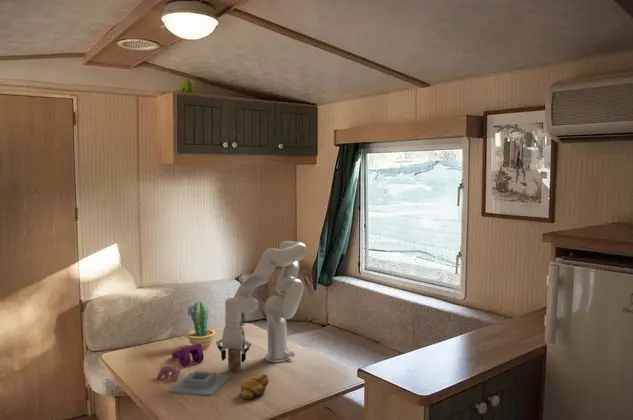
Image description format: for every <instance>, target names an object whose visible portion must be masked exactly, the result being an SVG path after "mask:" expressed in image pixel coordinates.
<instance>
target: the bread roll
mask: <svg viewBox="0 0 633 420" xmlns="http://www.w3.org/2000/svg"><path fill="white" fill-rule="evenodd" d="M269 381H270V379H269V377H268V375H267V374H261V375H257V376H252V377H248V378H247V379H246V380H244V381H242V382H241V385H240V392H241V397H242V398H243V399H244V400H251V399H253V398H255V397H258V396H259V397H260V396H262V395H263V394H264V393H265V392H266V388H267V386H268V384H269Z"/></svg>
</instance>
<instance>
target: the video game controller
mask: <svg viewBox="0 0 633 420" xmlns="http://www.w3.org/2000/svg"><path fill="white" fill-rule="evenodd" d="M170 373H171V374H170ZM180 373H181V369H180V367H177V366H175V365H169V364H168V365H162V368H160V370H159V371H158V373H157V376H156V379H157V381H159V380H161V378H162V377H163V378H165V379H171V380H172V382H173V383H175V382H176V381H177V380H178V379H179V376H180Z"/></svg>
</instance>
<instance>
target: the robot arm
mask: <svg viewBox="0 0 633 420" xmlns="http://www.w3.org/2000/svg"><path fill="white" fill-rule="evenodd" d="M307 252H308V248H307V246H306V244H304V243H303V242H299V241H294V240H284V241H282V242H281V243H280V244H279V247H278V248H276V247H269V248H267V249H265V250H264V251H263V254H262V256H261V258H260V259H259V262H258V263H257V265H256V266H255V269H254V271H253V273H252V274H251V275H249V276H248V277H247V278H246V279H244V280H243V282H242V283H241V284H240V286H238V289H237V290H236V292H235V294H234V296H233V297H229V298H226V300H225V302H224V304H225V308H224V311H225V312H224V313H225V315H224V317H225V318H224V320H225V325H224V327H223V332H222V338H221V339H219V340H217V341H216V342H215V345H216V346H217V349H218V350H219V351H220V354H221V355H220V357H221V361H225V360H226V359H227V351H226V350H228V349H236V350H240V351H241V363H244V362H245V361H246V359H247V352H249V350H250V348H251V346H252V343H250V341H247V340H246V335H245V329H244V326H245V322H243V320H242V317H243V316H242V314H249V313H255V312H256V311H257V310H258V309H259V303H260V302H259V301H258V299H257V298H255V297H253V296H252V295H251V294H252V292H253V291H254V290H255V289H257V287H259V286H261V285H264V284H266V283H267V284H268V283H269V281H270V280H271V277H272V276H273V274H274V271H275V269H276V267H280V268H281V270H280V274H279V276H278V278H277V280H276V283H275V291H276V292H277V293H278V294H280V295H282V296H279V295H272V296H269V297H267V299H266V302H265V305H264V307H265V313H266V321H267V322H266V323H267V324H266V325H267V354H266V355H265V356H264V360H265V361H267V362H269V363H284V362H287V361H289V360H290V359H291V358H293V357H295V356H296V353H295V352H294V351H293V350H292V351H290V350H289V348H287V346H288V345H287V343H288V341H287V340H288V338H287V334H288V333H287V331H288V329H287V320H290V319H292V318H293V317H294V316H295V314H296V313H297V311H298V308H299V305H300V302H301V300H302V297H303V295H304V290H305V288H304V286H305V285H304V283H303V281H302V280H300V279H299V278H298V274H299V270H300V261H301V260H303V259H304V258H305V257H306V255H307ZM250 295H251V296H250ZM283 296H284V297H283ZM245 346H246V347H245Z"/></svg>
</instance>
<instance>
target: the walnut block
mask: <svg viewBox="0 0 633 420" xmlns="http://www.w3.org/2000/svg"><path fill="white" fill-rule="evenodd" d="M241 354H242V352H241V351H240V350H236V349H227V365H228V370H227V371H228V373H231V374H239V372H240V371H241V370H242V362H241Z"/></svg>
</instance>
